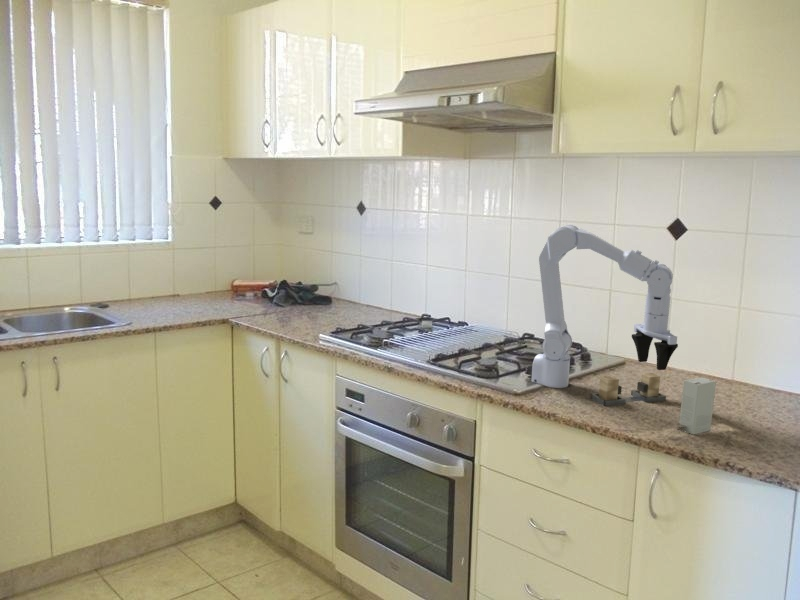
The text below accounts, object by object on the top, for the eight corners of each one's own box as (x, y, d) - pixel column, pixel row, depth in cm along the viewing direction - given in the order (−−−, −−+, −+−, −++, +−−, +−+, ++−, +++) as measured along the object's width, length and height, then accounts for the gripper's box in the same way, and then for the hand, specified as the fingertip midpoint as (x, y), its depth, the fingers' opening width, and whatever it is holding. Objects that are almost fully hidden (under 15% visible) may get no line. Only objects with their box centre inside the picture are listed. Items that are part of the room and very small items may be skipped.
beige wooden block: (650, 395, 184) (652, 373, 183) (658, 399, 181) (660, 376, 180) (635, 396, 182) (637, 374, 181) (643, 400, 179) (645, 377, 178)
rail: (603, 411, 174) (604, 401, 174) (590, 403, 180) (591, 393, 180) (664, 406, 180) (665, 396, 179) (650, 398, 186) (650, 389, 185)
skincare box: (695, 425, 167) (700, 375, 164) (711, 431, 163) (717, 381, 160) (677, 429, 164) (682, 378, 161) (693, 436, 160) (698, 384, 158)
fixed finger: (605, 403, 176) (607, 380, 175) (598, 399, 179) (600, 376, 178) (621, 402, 177) (623, 379, 176) (613, 398, 180) (615, 375, 179)
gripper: (689, 318, 173) (684, 372, 175) (652, 307, 186) (647, 357, 189) (665, 319, 170) (659, 374, 173) (629, 308, 184) (624, 358, 186)
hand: (651, 365), depth 181 cm, fingers open, 7 cm apart
